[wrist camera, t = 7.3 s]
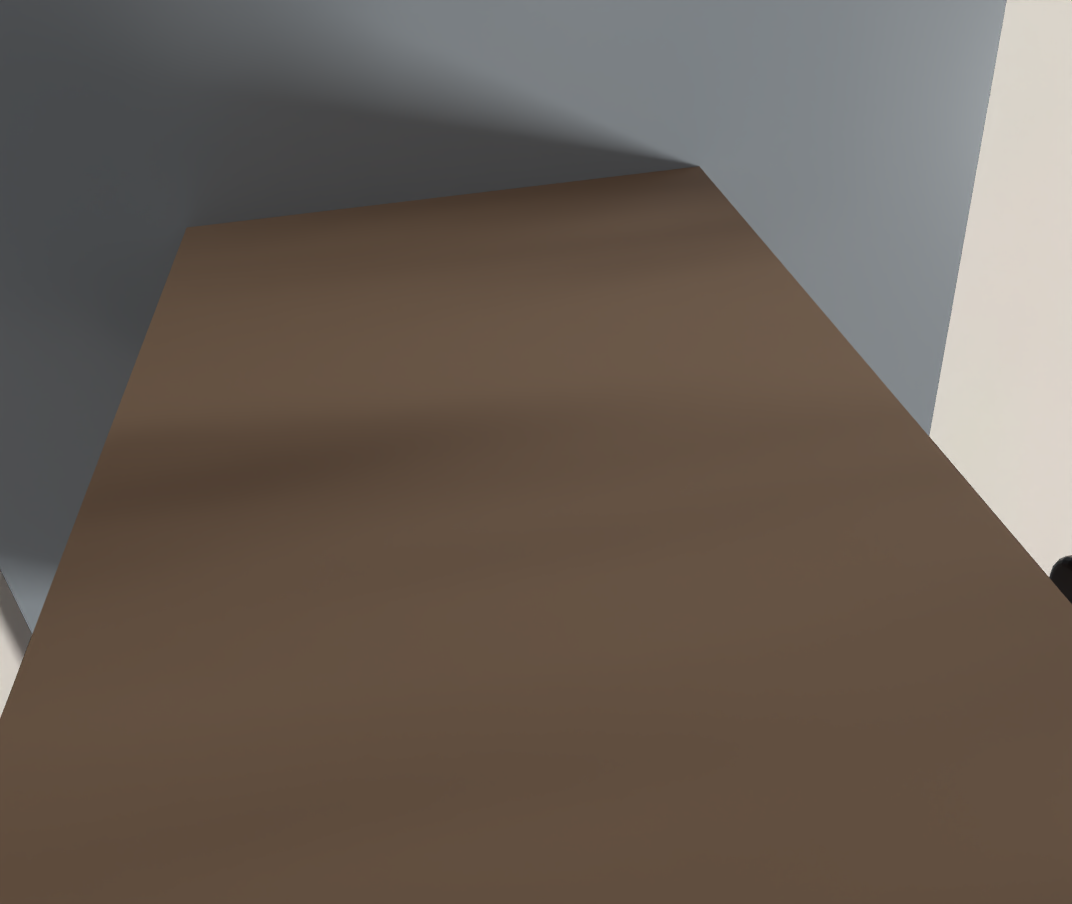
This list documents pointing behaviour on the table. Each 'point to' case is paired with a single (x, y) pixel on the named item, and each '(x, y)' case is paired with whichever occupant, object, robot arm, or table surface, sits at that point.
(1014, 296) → the table surface
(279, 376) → the walnut block
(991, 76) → the coaster
